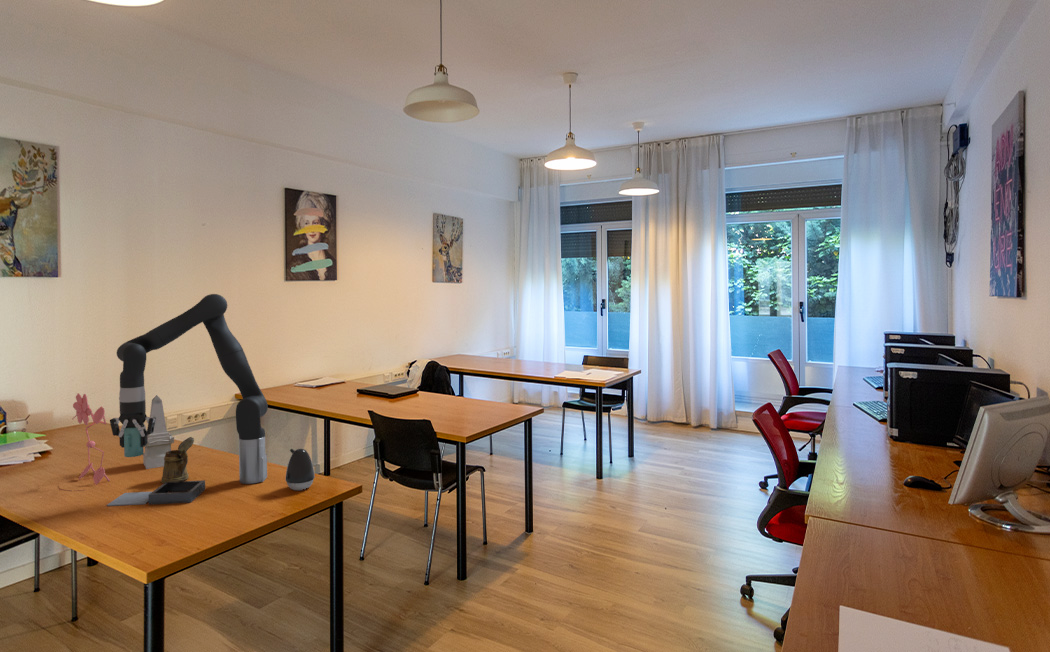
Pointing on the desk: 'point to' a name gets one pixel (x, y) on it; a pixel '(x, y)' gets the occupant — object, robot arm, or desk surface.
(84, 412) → the figurine
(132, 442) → the glazed jug
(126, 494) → the slate grey mat
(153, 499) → the dark grey rectangular frame
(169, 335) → the robot arm
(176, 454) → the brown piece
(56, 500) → the desk surface
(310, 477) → the grey egg-shaped device
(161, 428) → the miniature monument
